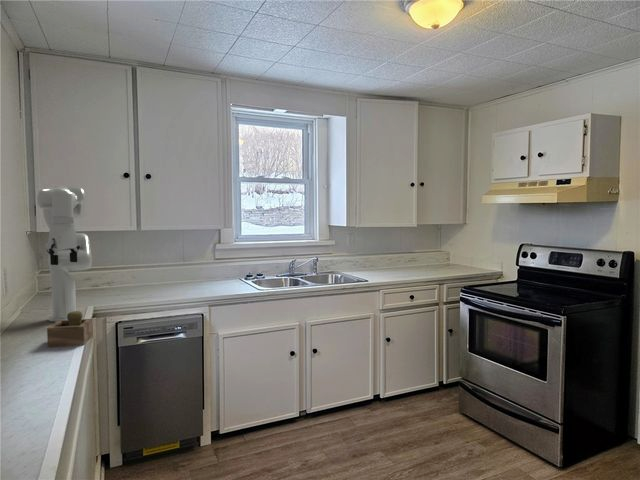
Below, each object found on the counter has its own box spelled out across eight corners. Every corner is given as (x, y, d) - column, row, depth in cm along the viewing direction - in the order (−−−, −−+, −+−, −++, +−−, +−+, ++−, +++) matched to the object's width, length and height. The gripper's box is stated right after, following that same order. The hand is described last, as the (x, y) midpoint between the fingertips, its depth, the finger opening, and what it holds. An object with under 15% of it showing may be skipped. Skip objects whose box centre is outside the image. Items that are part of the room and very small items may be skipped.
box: (59, 337, 170) (58, 320, 169) (92, 336, 173) (92, 318, 172) (47, 347, 158) (47, 328, 158) (83, 345, 161) (83, 326, 161)
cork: (87, 337, 171) (86, 309, 170) (79, 342, 165) (78, 313, 164) (72, 337, 171) (71, 309, 170) (63, 342, 165) (62, 313, 164)
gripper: (71, 220, 185) (73, 260, 186) (36, 221, 168) (38, 265, 169) (86, 221, 183) (88, 261, 184) (53, 222, 166) (54, 266, 168)
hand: (64, 263), depth 177 cm, fingers open, 9 cm apart
